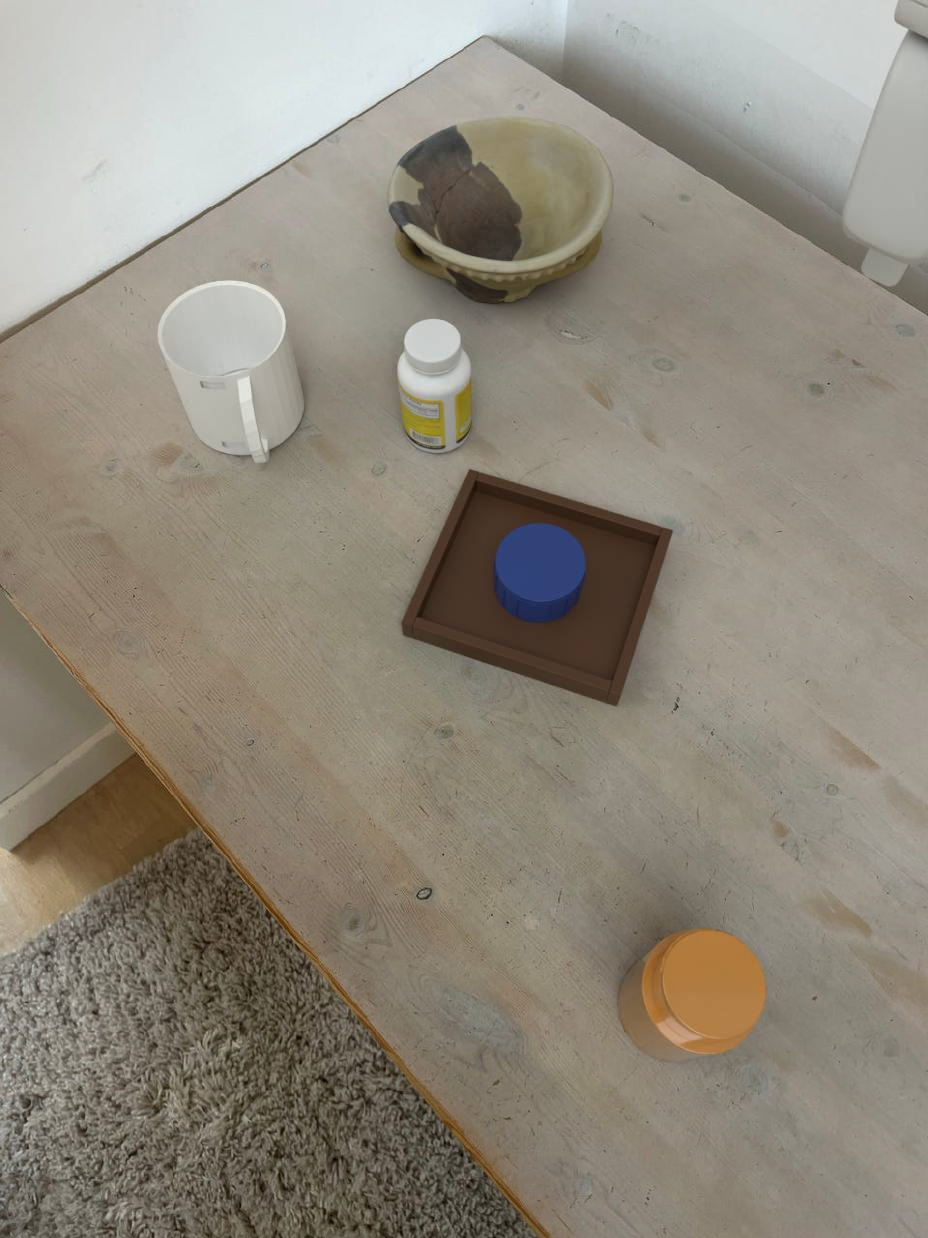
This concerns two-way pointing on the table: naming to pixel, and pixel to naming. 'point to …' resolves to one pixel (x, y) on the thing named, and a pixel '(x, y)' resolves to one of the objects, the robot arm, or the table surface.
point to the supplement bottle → (435, 387)
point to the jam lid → (539, 572)
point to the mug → (233, 367)
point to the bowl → (501, 205)
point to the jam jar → (692, 996)
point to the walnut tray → (550, 651)
